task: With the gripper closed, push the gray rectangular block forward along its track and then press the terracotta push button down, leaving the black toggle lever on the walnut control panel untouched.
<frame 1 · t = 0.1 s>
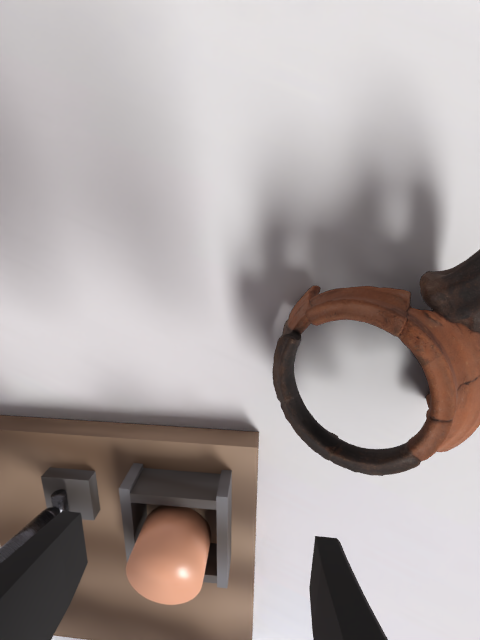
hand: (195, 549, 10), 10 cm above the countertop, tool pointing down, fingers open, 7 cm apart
control panel: (95, 529, 24), on the countertop
toggle lever: (19, 546, 17), point 5 cm above the countertop, hinge at -15.0°
push button: (171, 552, 18), point 4 cm above the countertop, slide at 0.0 cm
brown curved loop piece: (382, 327, 18), on the countertop
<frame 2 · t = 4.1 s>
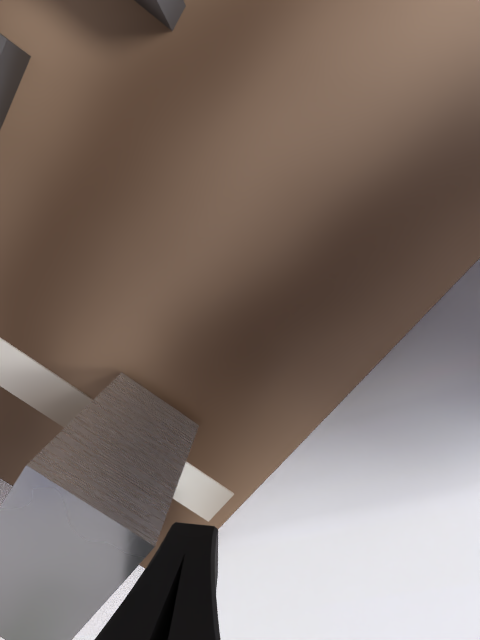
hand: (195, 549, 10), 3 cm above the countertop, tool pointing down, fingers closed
control panel: (138, 196, 11), on the countertop
gray rectangular block: (90, 499, 9), point 4 cm above the countertop, slide at 1.6 cm, touching gripper
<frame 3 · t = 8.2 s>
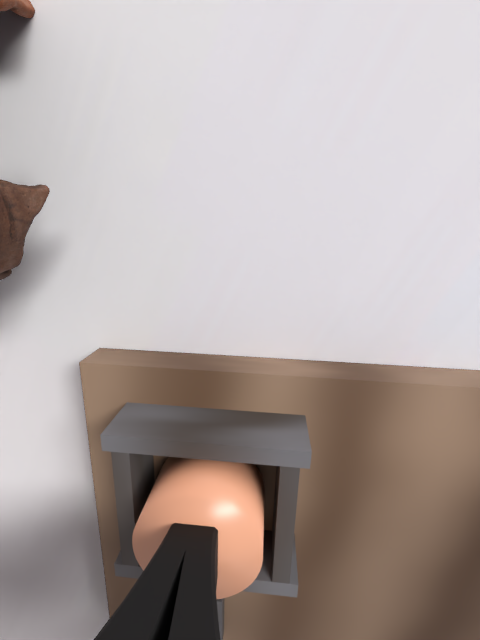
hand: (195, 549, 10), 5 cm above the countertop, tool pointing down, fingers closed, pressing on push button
control panel: (300, 580, 16), on the countertop
push button: (204, 516, 11), point 3 cm above the countertop, slide at 0.9 cm, touching gripper
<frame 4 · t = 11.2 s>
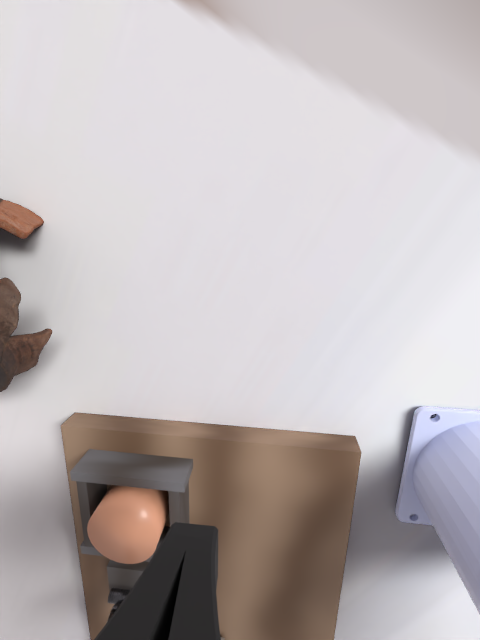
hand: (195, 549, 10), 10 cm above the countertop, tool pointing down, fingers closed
control panel: (209, 562, 24), on the countertop
push button: (131, 516, 19), point 3 cm above the countertop, slide at 1.0 cm
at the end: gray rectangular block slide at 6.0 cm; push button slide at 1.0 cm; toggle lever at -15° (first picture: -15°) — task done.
